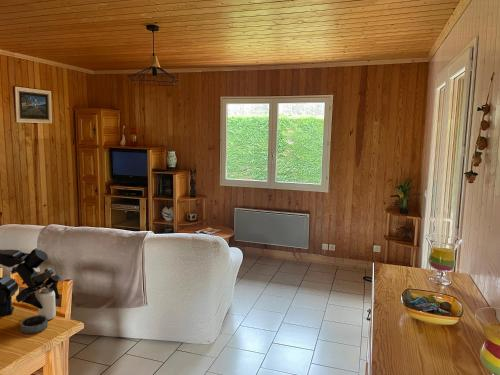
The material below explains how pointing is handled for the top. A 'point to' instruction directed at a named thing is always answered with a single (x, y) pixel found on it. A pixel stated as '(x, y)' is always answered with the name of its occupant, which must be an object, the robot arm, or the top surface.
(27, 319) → the collar
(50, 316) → the can
